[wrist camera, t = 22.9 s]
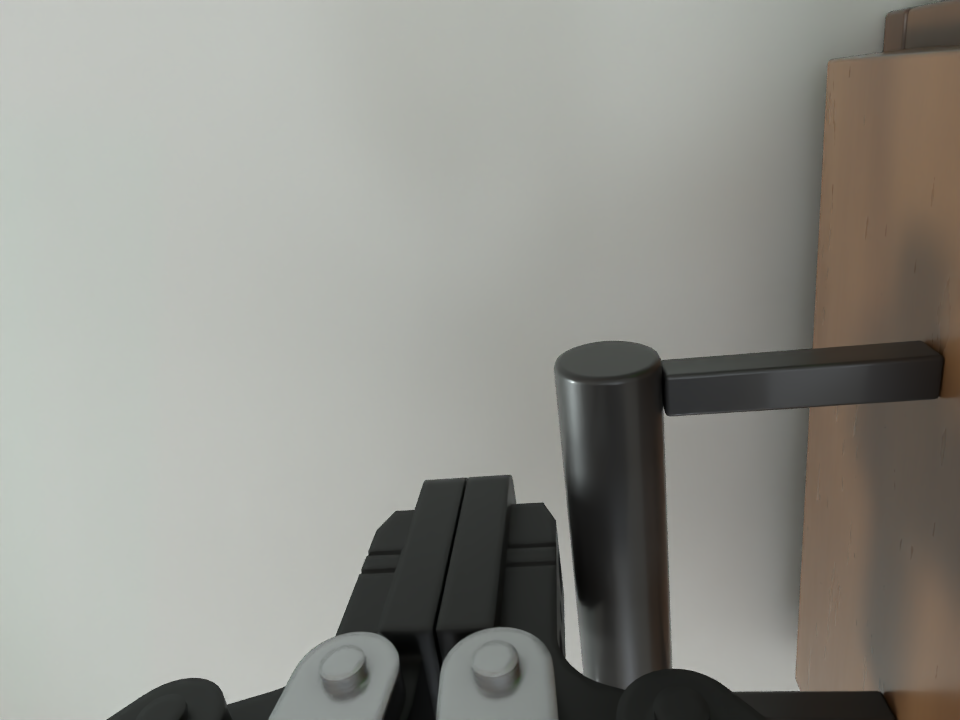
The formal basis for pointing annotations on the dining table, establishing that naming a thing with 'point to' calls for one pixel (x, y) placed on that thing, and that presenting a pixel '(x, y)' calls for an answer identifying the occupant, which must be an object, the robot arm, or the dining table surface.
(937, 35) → the cabinet
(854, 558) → the drawer
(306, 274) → the dining table surface
